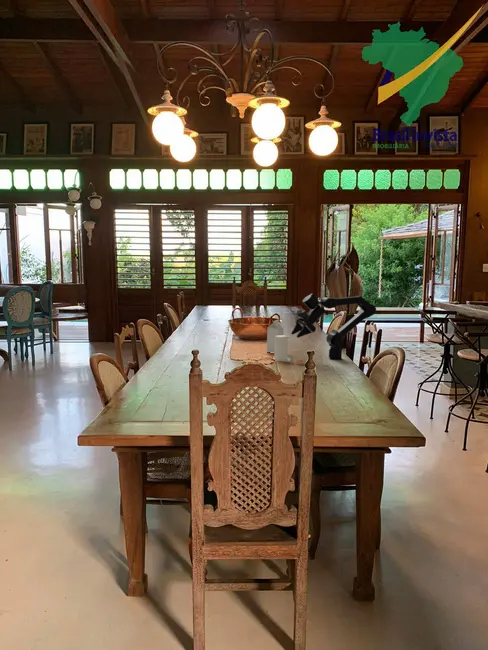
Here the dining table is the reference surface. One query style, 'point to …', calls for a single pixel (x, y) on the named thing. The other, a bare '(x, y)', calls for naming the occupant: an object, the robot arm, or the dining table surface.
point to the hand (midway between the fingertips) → (294, 335)
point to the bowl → (299, 361)
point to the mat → (285, 360)
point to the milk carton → (273, 335)
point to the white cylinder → (281, 347)
